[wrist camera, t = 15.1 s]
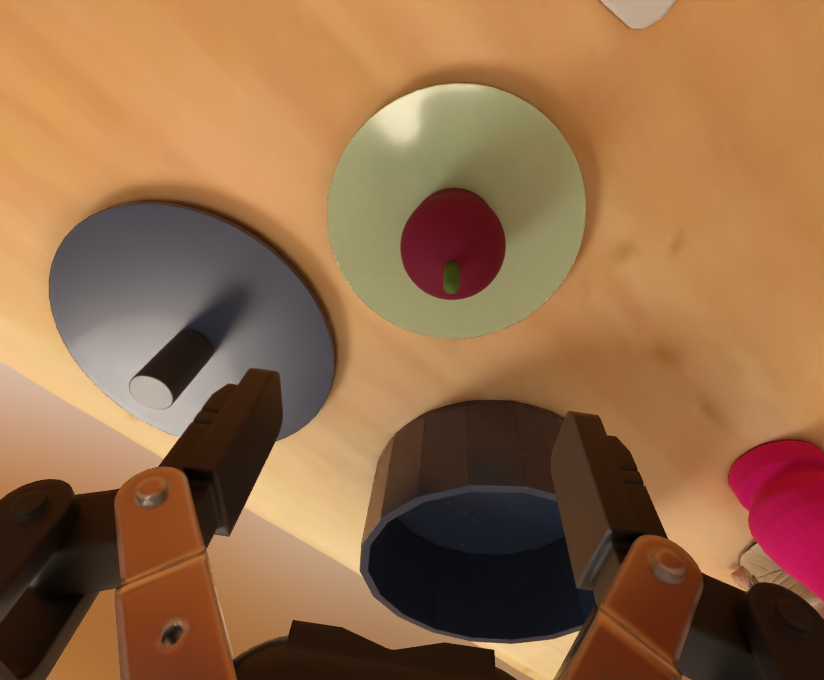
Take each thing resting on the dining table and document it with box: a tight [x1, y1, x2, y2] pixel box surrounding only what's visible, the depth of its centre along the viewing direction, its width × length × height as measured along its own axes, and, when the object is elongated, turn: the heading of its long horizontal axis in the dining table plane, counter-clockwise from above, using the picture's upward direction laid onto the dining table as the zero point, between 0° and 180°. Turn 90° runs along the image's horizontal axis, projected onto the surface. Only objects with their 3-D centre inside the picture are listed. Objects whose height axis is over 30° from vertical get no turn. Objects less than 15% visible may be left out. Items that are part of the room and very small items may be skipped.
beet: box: [400, 188, 506, 300], centre depth 21 cm, size 5×5×7 cm
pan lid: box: [49, 202, 335, 441], centre depth 28 cm, size 19×19×6 cm
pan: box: [360, 400, 596, 644], centre depth 33 cm, size 18×18×8 cm
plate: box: [327, 82, 586, 339], centre depth 25 cm, size 14×14×1 cm
